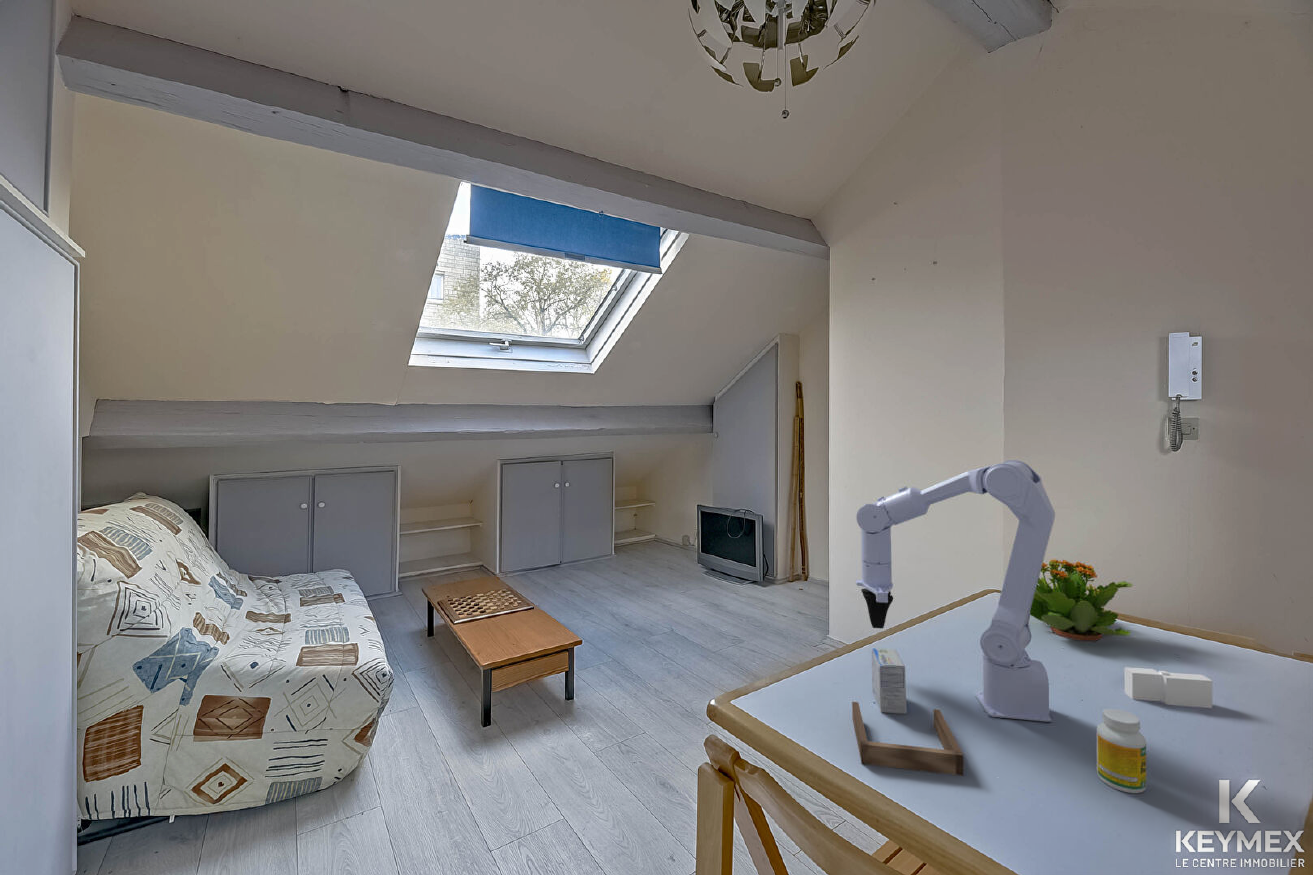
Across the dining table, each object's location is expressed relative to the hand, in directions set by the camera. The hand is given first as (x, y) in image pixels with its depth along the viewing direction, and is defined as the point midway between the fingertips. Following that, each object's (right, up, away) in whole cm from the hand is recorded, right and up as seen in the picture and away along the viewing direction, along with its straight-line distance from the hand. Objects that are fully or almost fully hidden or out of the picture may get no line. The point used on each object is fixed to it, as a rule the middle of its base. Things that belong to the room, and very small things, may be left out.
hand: (877, 626), depth 113 cm
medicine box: (-3, -10, -12) cm, 16 cm away
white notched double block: (+47, -9, -13) cm, 50 cm away
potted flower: (+54, -8, +17) cm, 57 cm away
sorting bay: (-6, -10, -25) cm, 28 cm away
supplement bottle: (+20, -10, -36) cm, 42 cm away
